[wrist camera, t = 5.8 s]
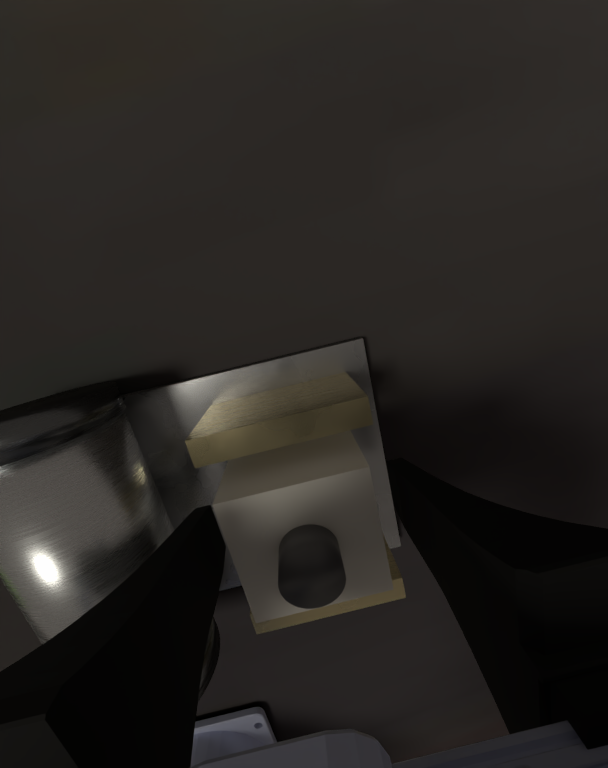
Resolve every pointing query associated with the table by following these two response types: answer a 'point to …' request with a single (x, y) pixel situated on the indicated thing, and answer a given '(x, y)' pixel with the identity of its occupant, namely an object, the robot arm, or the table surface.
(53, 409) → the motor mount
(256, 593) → the light grey block
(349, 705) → the table surface
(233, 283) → the table surface
